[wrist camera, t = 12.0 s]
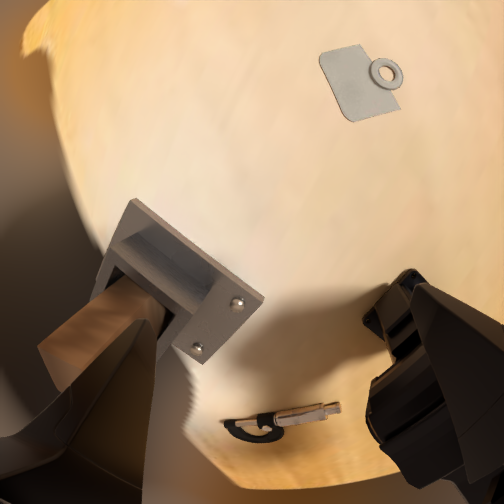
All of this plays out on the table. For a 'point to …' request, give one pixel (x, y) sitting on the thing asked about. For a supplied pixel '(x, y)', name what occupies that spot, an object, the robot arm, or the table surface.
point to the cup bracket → (177, 283)
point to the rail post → (98, 329)
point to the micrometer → (280, 422)
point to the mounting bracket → (360, 82)
